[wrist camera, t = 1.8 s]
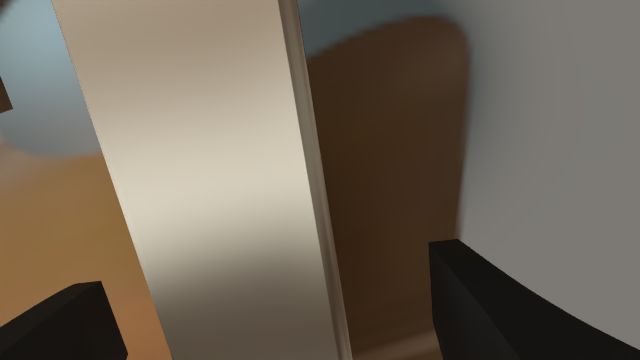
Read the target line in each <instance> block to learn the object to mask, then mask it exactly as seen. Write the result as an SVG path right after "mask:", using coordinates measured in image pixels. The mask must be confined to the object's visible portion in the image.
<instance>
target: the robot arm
mask: <svg viewBox="0 0 640 360" xmlns="http://www.w3.org/2000/svg"><path fill="white" fill-rule="evenodd" d="M428 243H429V261H430V278H431V295H432V312H433V323H434V326H435V330H436V334H437V338H438V342H439V345H440V349H441V353H442V356H443V360H640V350H638V349H636V348H634V347H632V346H630V345H628V344H626V343H624V342H622V341H620V340H618V339H616V338H614V337H612V336H610V335H608V334H606V333H604V332H602V331H600V330H598V329H596V328H594V327H592V326H590V325H588V324H587V323H585V322H583V321H581V320H579V319H577V318H576V317H574V316H572V315H571V314H569V313H567V312H565V311H564V310H562V309H560V308H559V307H557V306H555V305H554V304H552V303H550V302H549V301H547V300H545V299H544V298H542V297H540V296H539V295H537V294H536V293H534V292H532V291H531V290H529V289H528V288H526V287H525V286H523V285H521V284H520V283H519V282H517V281H516V280H514V279H513V278H511V277H510V276H508V275H507V274H506V273H504V272H503V271H501V270H500V269H498V268H497V267H496V266H494V265H493V264H491V263H490V262H489V261H487V260H486V259H485V258H483V257H482V256H480V255H479V254H478V253H476V252H475V251H473V250H472V249H471V248H470V247H468V246H467V245H465V244H464V243H463V242H461V241H460V240H458V239H453V240H445V241H436V242H428ZM127 356H128V352H127V349H126V347H125V344H124V341H123V339H122V336H121V333H120V331H119V328H118V325H117V323H116V320H115V317H114V315H113V312H112V309H111V306H110V304H109V301H108V298H107V296H106V293H105V290H104V288H103V285H102V282H101V281H95V282H87V283H78V284H73V285H71V286H69V287H67V288H65V289H63V290H61V291H59V292H58V293H56V294H54V295H52V296H50V297H49V298H47V299H45V300H44V301H42V302H40V303H39V304H37V305H35V306H34V307H32V308H30V309H29V310H27V311H26V312H24V313H22V314H21V315H19V316H18V317H16V318H14V319H13V320H11V321H10V322H8V323H6V324H5V325H3V326H2V327H0V360H126V359H127Z"/></svg>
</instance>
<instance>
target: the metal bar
mask: <svg viewBox="0 0 640 360" xmlns="http://www.w3.org/2000/svg"><path fill="white" fill-rule="evenodd" d="M51 1H52V4H53V7H54V10H55V13H56V16H57V19H58V22H59V25H60V28H61V31H62V33H63V36H64V40H65V42H66V45H67V48H68V51H69V54H70V57H71V60H72V63H73V66H74V69H75V72H76V75H77V78H78V81H79V84H80V87H81V89H82V93H83V95H84V99H85V102H86V104H87V107H88V110H89V113H90V116H91V119H92V122H93V125H94V128H95V131H96V134H97V137H98V140H99V143H100V146H101V149H102V152H103V155H104V158H105V161H106V164H107V167H108V170H109V172H110V175H111V178H112V181H113V184H114V187H115V190H116V193H117V196H118V199H119V202H120V205H121V208H122V211H123V214H124V217H125V220H126V223H127V226H128V229H129V232H130V234H131V237H132V240H133V243H134V246H135V249H136V252H137V255H138V258H139V261H140V264H141V267H142V270H143V273H144V276H145V279H146V282H147V285H148V288H149V291H150V294H151V297H152V299H153V302H154V305H155V308H156V311H157V314H158V317H159V320H160V323H161V326H162V329H163V332H164V335H165V338H166V341H167V344H168V347H169V350H170V353H171V356H172V359H173V360H353V359H352V353H351V347H350V340H349V334H348V327H347V321H346V315H345V308H344V302H343V295H342V289H341V283H340V276H339V270H338V263H337V257H336V250H335V244H334V238H333V231H332V225H331V218H330V212H329V206H328V199H327V193H326V186H325V180H324V174H323V167H322V161H321V154H320V148H319V142H318V135H317V129H316V122H315V116H314V110H313V103H312V97H311V90H310V84H309V77H308V71H307V65H306V55H305V49H304V43H303V36H302V30H301V23H300V17H299V10H298V4H297V0H51Z"/></svg>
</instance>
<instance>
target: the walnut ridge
mask: <svg viewBox="0 0 640 360" xmlns="http://www.w3.org/2000/svg"><path fill="white" fill-rule="evenodd" d="M11 109H13V107H12V105H11V103H10V100H9V97H8V95H7V92H6V90H5V87H4V84H3V82H2V80H1V77H0V113H3V112H5V111H8V110H11Z"/></svg>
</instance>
